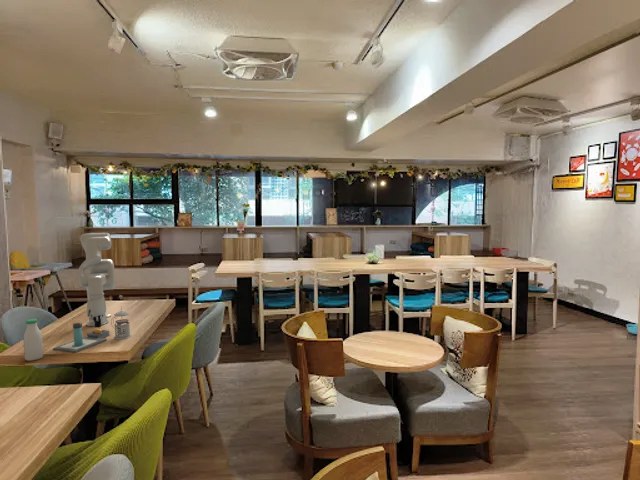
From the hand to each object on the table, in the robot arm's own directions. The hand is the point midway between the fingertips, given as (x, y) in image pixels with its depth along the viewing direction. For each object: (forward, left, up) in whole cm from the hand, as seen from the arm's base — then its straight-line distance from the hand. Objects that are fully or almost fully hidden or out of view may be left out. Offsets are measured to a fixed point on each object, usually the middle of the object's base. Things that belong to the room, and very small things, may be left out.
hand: (98, 327), depth 238 cm
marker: (+17, +4, -5) cm, 18 cm away
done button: (0, 0, -4) cm, 5 cm away
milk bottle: (+36, -4, -6) cm, 37 cm away
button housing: (0, 0, -6) cm, 6 cm away
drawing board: (+14, +2, -6) cm, 15 cm away
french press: (-4, +13, -6) cm, 15 cm away
